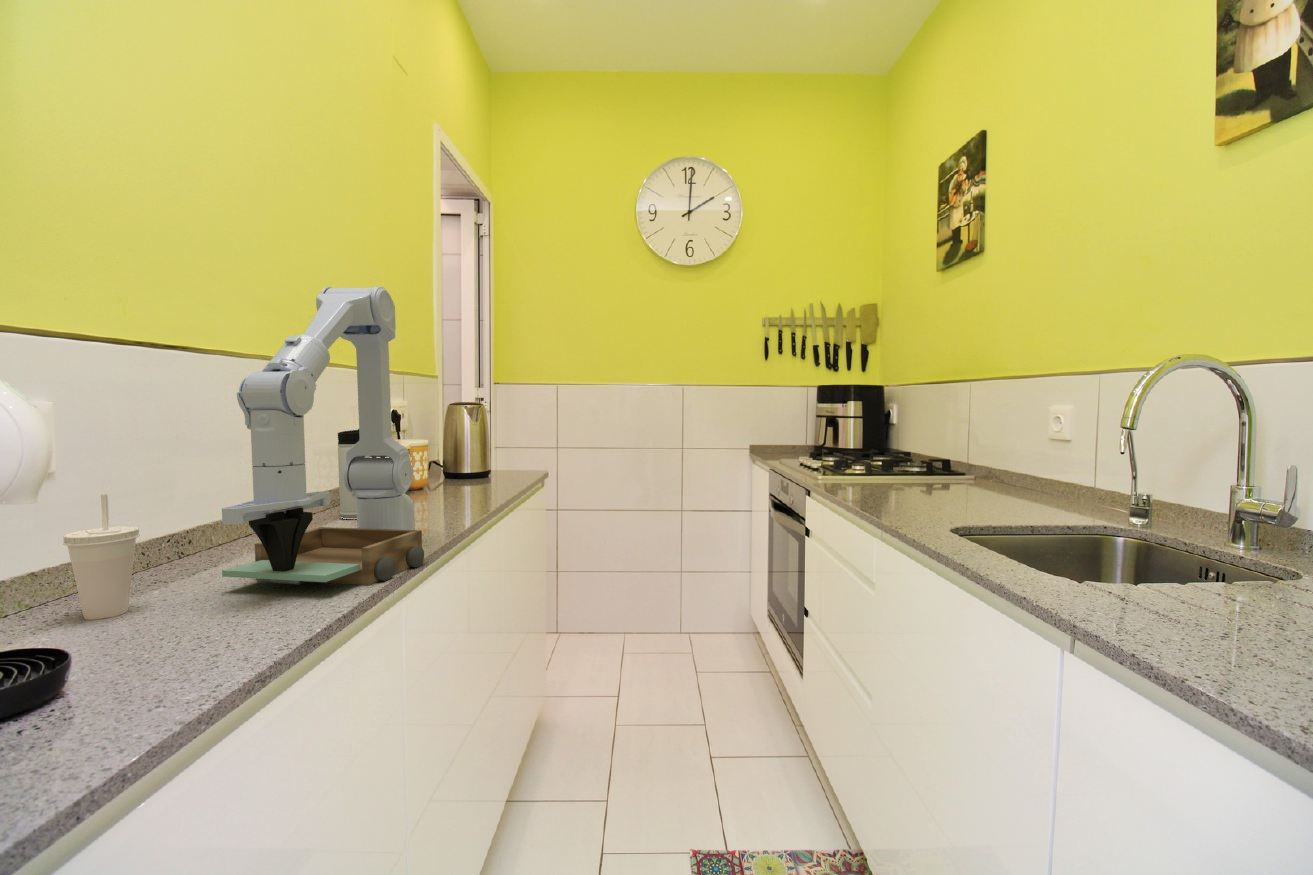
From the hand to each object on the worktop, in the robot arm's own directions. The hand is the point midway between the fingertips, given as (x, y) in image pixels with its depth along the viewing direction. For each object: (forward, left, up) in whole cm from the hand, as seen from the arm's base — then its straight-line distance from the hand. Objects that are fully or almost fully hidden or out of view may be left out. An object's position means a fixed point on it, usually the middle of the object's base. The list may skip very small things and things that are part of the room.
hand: (283, 569), depth 74 cm
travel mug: (-51, -30, -3) cm, 59 cm away
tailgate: (-5, 0, -1) cm, 5 cm away
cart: (-11, 0, -3) cm, 11 cm away
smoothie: (+10, -14, -3) cm, 18 cm away
